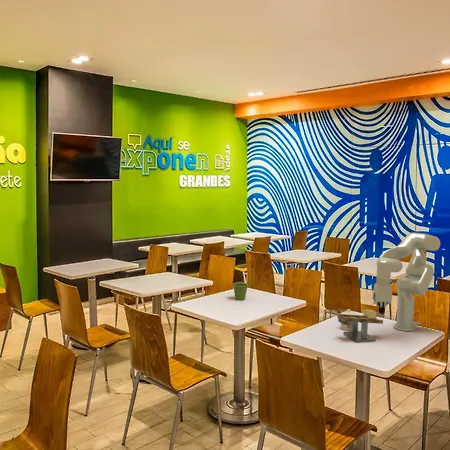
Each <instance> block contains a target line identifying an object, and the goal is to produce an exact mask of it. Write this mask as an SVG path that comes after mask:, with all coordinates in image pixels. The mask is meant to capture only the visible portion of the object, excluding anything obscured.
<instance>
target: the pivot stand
mask: <svg viewBox="0 0 450 450" xmlns="http://www.w3.org/2000/svg"><path fill="white" fill-rule="evenodd" d="M360 324H361V325H360V326H361V327H360V328H361V329H360V330H359V322H352V331H343V333H342V334H343V335H344V336H345V337H346V338H348V339H350V340H351V341H352V342H354V343H373V342H374V343H375V342H376V338H375V337H373V336H372V335H370V334H369V333H368V328H369V327H368V325H369V323H368V322H367V321H362V323H360Z"/></svg>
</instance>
